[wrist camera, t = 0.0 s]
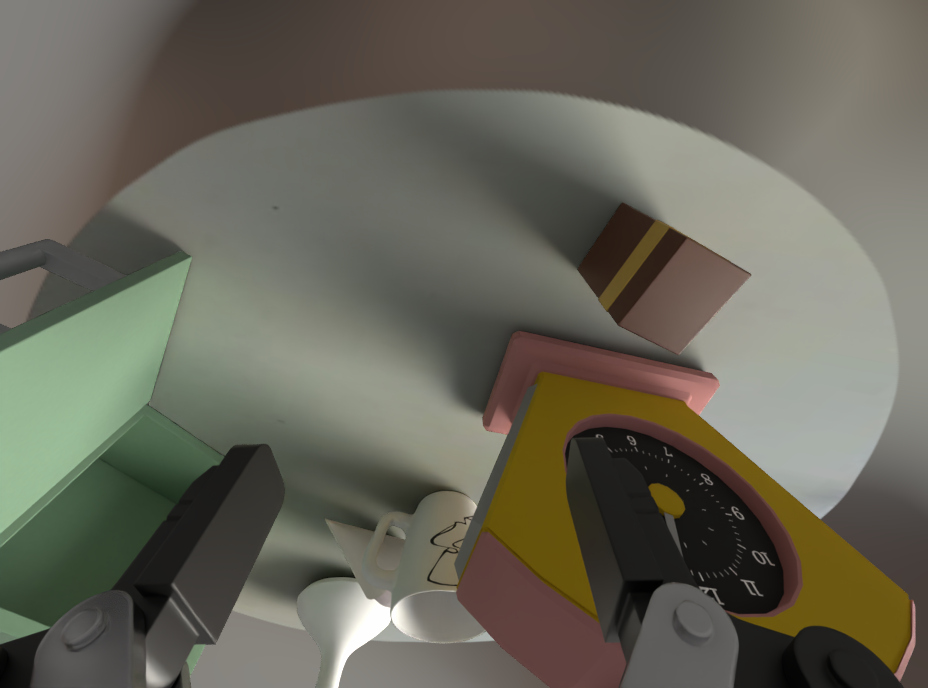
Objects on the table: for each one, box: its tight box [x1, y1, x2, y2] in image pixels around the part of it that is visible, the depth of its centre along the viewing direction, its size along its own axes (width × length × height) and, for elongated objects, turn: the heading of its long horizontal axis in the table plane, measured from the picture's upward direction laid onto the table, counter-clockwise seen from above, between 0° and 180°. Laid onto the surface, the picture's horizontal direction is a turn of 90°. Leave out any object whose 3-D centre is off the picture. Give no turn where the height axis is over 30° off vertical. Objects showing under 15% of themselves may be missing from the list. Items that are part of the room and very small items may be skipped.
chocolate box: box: [577, 202, 751, 355], centre depth 23 cm, size 5×4×8 cm
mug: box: [362, 491, 486, 643], centre depth 35 cm, size 11×8×10 cm
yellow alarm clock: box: [454, 331, 915, 688], centre depth 23 cm, size 22×9×22 cm, turn 76°
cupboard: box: [0, 404, 224, 675], centre depth 31 cm, size 9×15×16 cm, turn 37°
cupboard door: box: [0, 239, 192, 533], centre depth 22 cm, size 6×15×16 cm, turn 148°
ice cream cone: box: [324, 518, 405, 608], centre depth 40 cm, size 6×6×15 cm
